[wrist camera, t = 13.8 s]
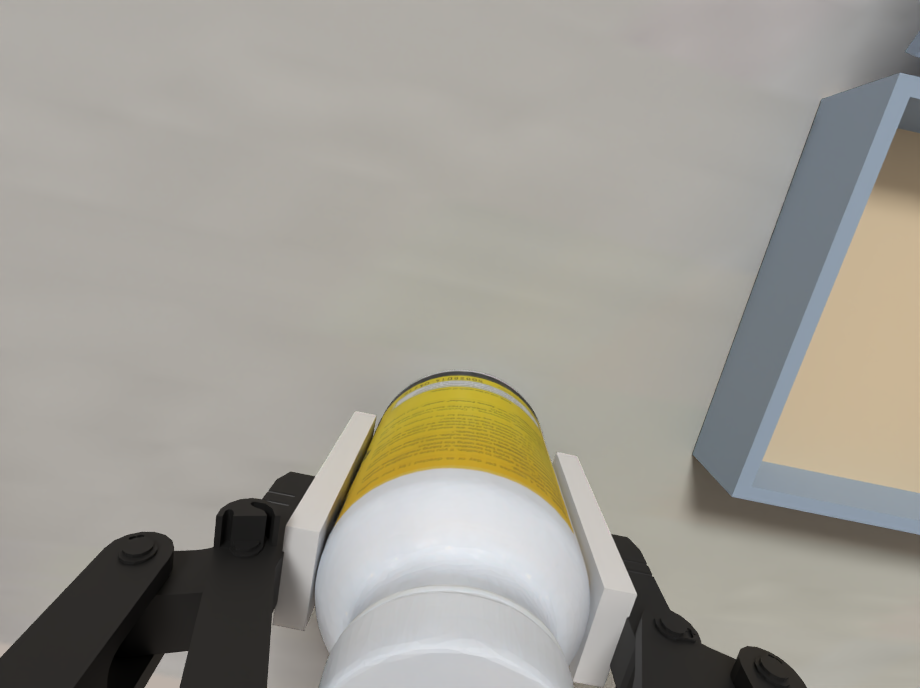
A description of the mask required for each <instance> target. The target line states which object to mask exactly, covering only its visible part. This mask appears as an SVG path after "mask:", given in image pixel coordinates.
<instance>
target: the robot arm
mask: <svg viewBox="0 0 920 688" xmlns="http://www.w3.org/2000/svg"><path fill="white" fill-rule="evenodd" d="M375 421H376V415H373V414H368V413H363V412H358V411H355V412H354V414H353V416H352V417H351V419H350V421H349V422H348V424H347V425H346V427H345V429H344V430H343V432H342V434H341V435H340V437H339V439H338V440H337V442H336V444H335V445H334V447H333V449H332V450H331V452H330V454H329V455H328V457H327V458H326V460H325V462H324V463H323V465H322V467H321V468H320V470H319V472H318V473H317V475H316V477H315V476H310V475H305V474H300V473H295V472H289V473H288V474H286V475H284V476H282V477H280V478H279V479H277V480H276V481H275V483H274V484H273V485H272V487H271V488H270V489H269V492H267V493H266V495H265V496H264V497H263V499H254V498H249V499H240V500H237V501H234V502H231V503H229V504H227V505H226V506H224V507H223V508H221V509H220V511H219V513H218V514H217V516H216V526H215V537H214V547H212V548H208V549H202V550H190V551H174V546H173V542H172V540H171V539H170V538H168V537H167V536H166V535H163V534H160V533H156V532H139V533H134V534H129V535H126V536H124V537H121V538H119V539H117V540H115V541H113V542H112V543H111V544H109V545H108V546H107V547H105V548H104V549H103V550H102V551H101V552H100V553H99V554H98V556H97V557H96V558H95V559H94V560H93V561H92V562H91V563H90V564H89V565H88V566H87V567H86V568H85V569H84V570H83V571H82V572H81V573H80V574H79V576H78V577H77V578H76V579H75V580H74V581H73V582H72V583H71V584H70V585H69V586H68V587H67V588H66V589H65V590H64V591H63V592H62V593H61V594H60V595H59V597H58V598H57V599H56V600H55V601H54V602H53V603H52V604H51V605H50V606H49V607H48V608H47V609H46V610H45V611H44V612H43V613H42V614H41V615H40V617H39V618H38V619H37V620H36V621H35V622H34V623H33V624H32V625H31V626H30V627H29V628H28V629H27V630H26V631H25V632H24V633H23V634H22V635H21V637H20V638H19V639H18V640H17V641H16V642H15V643H14V644H13V645H12V646H11V647H10V648H9V649H8V650H7V651H6V652H5V653H4V654H3V656H2V657H1V658H0V688H144V687H145V686H146V684H147V682H148V680H149V679H150V677H151V676H152V674H153V672H154V671H155V669H156V667H157V665H158V664H159V662H160V660H161V659H162V657H163V655H164V653H173V652H182V651H188V655H187V659H186V663H185V667H184V672H183V676H182V680H181V684H180V688H267V677H268V663H269V649H270V635H271V621H272V613H273V611H274V618H273V625H277V626H282V627H287V628H292V629H298V630H303V631H305V628H306V626H307V623H308V621H309V618H310V616H311V613H312V611H313V608H314V606H315V582H316V576H317V570H318V566H319V562H320V558H321V555H322V553H323V550H324V547H325V544H326V541H327V539H328V536H329V534H330V532H331V530H332V528H333V526H334V524H335V521H336V519H337V517H338V515H339V513H340V510H341V508H342V505H343V503H344V501H345V498H346V496H347V494H348V492H349V489H350V487H351V485H352V483H353V481H354V478H355V476H356V474H357V471H358V469H359V467H360V465H361V463H362V460H363V458H364V456H365V454H366V452H367V449H368V447H369V445H370V443H371V441H372V438H373V432H374V427H375ZM553 468H554V471H555V474H556V477H557V480H558V483H559V486H560V489H561V492H562V495H563V498H564V501H565V504H566V507H567V510H568V513H569V516H570V519H571V522H572V525H573V528H574V531H575V534H576V537H577V540H578V543H579V546H580V549H581V552H582V555H583V558H584V562H585V566H586V570H587V574H588V580H589V588H590V609H589V618H588V622H587V627H586V631H585V634H584V637H583V640H582V642H581V645H580V647H579V649H578V651H577V653H576V655H575V657H574V658H573V660H572V662H571V663H570V665H569V667H570V671H571V675H572V680H573V682H577V683H582V684H587V685H592V686H598V687H603V688H604V685H605V682H606V679H607V677H608V674H609V671H610V668H611V671H612V674H613V678H614V681H615V684H616V687H615V688H807V687H806V685H805V684H804V682H803V681H802V679H801V678H800V677H799V676H798V674H797V673H796V672H795V671H794V670H793V669H792V668H791V667H790V666H789V665H788V664H787V663H785V662H784V661H783V660H782V659H780V658H779V657H777V656H775V655H774V654H772V653H770V652H768V651H766V650H763V649H761V648H758V647H750V646H747V647H744V648H742V649H741V650H740V652H739V654H738V656H737V659H734V658H732V657H729V656H727V655H725V654H722V653H720V652H718V651H716V650H713V649H711V648H709V647H707V646H705V645H703V644H702V643H701V640H700V637H699V635H698V633H697V631H696V630H695V629H694V628H693V626H692V625H691V624H690V623H689V622H688V621H686V620H685V619H684V618H683V617H681V616H680V615H678V614H676V613H674V612H673V611H671V610H670V609H669V607H668V605H667V603H666V601H665V599H664V597H663V595H662V593H661V591H660V589H659V587H658V585H657V583H656V581H655V579H654V577H652V573H651V571H650V569H649V567H648V566H647V565H646V564H647V563H646V561H645V559H644V557H643V555H642V553H641V551H640V550H639V549H638V548H637V546H636V545H635V544H634V543H633V542H632V541H631V540H630V539H629V538H628V537H623V536H618V535H613V534H611V533H610V531H609V528H608V526H607V524H606V521H605V519H604V517H603V515H602V512H601V510H600V508H599V505H598V503H597V501H596V498H595V496H594V494H593V492H592V489H591V487H590V485H589V482H588V480H587V478H586V475H585V473H584V471H583V468H582V466H581V464H580V462H579V459H578V457H577V456H575V455H570V454H565V453H560V452H556V455H555V458H554V462H553ZM274 609H275V610H274Z"/></svg>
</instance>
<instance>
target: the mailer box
mask: <svg viewBox="0 0 920 688" xmlns="http://www.w3.org/2000/svg"><path fill="white" fill-rule="evenodd" d="M693 455H694V456H695V458H696V459H697V460H698V461H699V462H700V463H701V464H702V465H703V466H704V467H705V468H706V469H707V471H708V472H709V473H710V474H711V475H712V476H713V477H714V478H715V479H716V480H717V481H718V482H719V484H720V485H721V486H722V487H723V488H724V489H725V490H726V491H727V492H728V493H729V494H730V495H731V497H735V498H740V499H745V500H750V501H755V502H760V503H765V504H770V505H775V506H780V507H785V508H790V509H795V510H800V511H805V512H810V513H814V514H819V515H824V516H829V517H834V518H839V519H844V520H849V521H854V522H859V523H864V524H869V525H874V526H879V527H884V528H889V529H894V530H899V531H904V532H908V533H913V534H918V535H920V77H917V76H913V75H909V74H904V73H897V74H895V75H892V76H889V77H886V78H883V79H880V80H877V81H874V82H871V83H868V84H865V85H862V86H859V87H856V88H853V89H850V90H847V91H844V92H841V93H838V94H835V95H832V96H829V97H827V98H824V99H822V100H821V103H820V106H819V108H818V111H817V114H816V117H815V119H814V122H813V125H812V128H811V130H810V133H809V136H808V139H807V141H806V144H805V147H804V150H803V152H802V155H801V158H800V161H799V163H798V166H797V169H796V172H795V174H794V177H793V180H792V183H791V185H790V188H789V191H788V194H787V196H786V199H785V202H784V204H783V207H782V210H781V213H780V215H779V218H778V221H777V224H776V226H775V229H774V232H773V235H772V237H771V240H770V243H769V246H768V248H767V251H766V254H765V257H764V259H763V262H762V265H761V268H760V270H759V273H758V276H757V279H756V281H755V284H754V287H753V290H752V292H751V295H750V298H749V301H748V303H747V306H746V309H745V312H744V314H743V317H742V320H741V322H740V325H739V328H738V331H737V333H736V336H735V339H734V342H733V344H732V347H731V350H730V353H729V355H728V358H727V361H726V364H725V366H724V369H723V372H722V375H721V377H720V380H719V383H718V386H717V388H716V391H715V394H714V397H713V399H712V402H711V405H710V408H709V410H708V413H707V416H706V419H705V421H704V424H703V427H702V430H701V432H700V435H699V438H698V440H697V443H696V446H695V449H694V451H693Z"/></svg>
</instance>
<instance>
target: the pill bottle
mask: <svg viewBox="0 0 920 688" xmlns="http://www.w3.org/2000/svg"><path fill="white" fill-rule="evenodd" d="M315 608H316V616H317V621H318V625H319V629H320V633H321V636H322V638H323V641H324V643H325V646H326V648H327V650H328V652H329V657H328V660H327V662H326V665H325V668H324V671H323V674H322V678H321V681H320V685H319V688H574V685H573V680H572V675H571V672H570V669H569V667H568V666H569V665H570V663H571V662H572V660H573V658H574V657H575V655H576V653H577V651H578V649H579V647H580V645H581V642H582V640H583V637H584V634H585V631H586V627H587V622H588V618H589V609H590V588H589V580H588V574H587V570H586V566H585V562H584V558H583V555H582V552H581V549H580V546H579V543H578V540H577V537H576V534H575V531H574V528H573V525H572V522H571V519H570V516H569V513H568V510H567V507H566V504H565V501H564V498H563V495H562V492H561V489H560V486H559V483H558V480H557V477H556V474H555V471H554V468H553V465H552V462H551V459H550V456H549V453H548V449H547V446H546V443H545V439H544V436H543V432H542V429H541V426H540V423H539V421H538V419H537V417H536V415H535V413H534V411H533V409H532V408H531V407H530V405H529V404H528V402H527V401H526V400H525V399H524V398H523V397H522V396H521V394H519V393H518V392H517V391H516V390H515V389H514V388H512V387H511V386H510V385H508V384H507V383H505V382H503V381H502V380H500V379H498V378H496V377H493V376H491V375H488V374H485V373H481V372H476V371H470V370H449V371H442V372H438V373H434V374H431V375H428V376H426V377H423V378H421V379H419V380H417V381H415V382H414V383H412V384H410V385H409V386H408V387H406V388H405V389H404V390H403V391H402V392H400V393H399V394H398V395H397V396H396V398H395V399H394V400H393V401H392V402H391V404H390V405H389V406H388V408H387V410H386V411H385V413H384V415H383V417H382V418H381V420H380V422H379V424H378V427H377V429H376V431H375V434H374V436H373V439H372V441H371V443H370V445H369V447H368V449H367V452H366V454H365V456H364V458H363V460H362V463H361V465H360V467H359V469H358V471H357V474H356V476H355V478H354V481H353V483H352V485H351V487H350V489H349V492H348V494H347V496H346V498H345V501H344V503H343V505H342V508H341V510H340V513H339V515H338V517H337V519H336V521H335V524H334V526H333V528H332V530H331V532H330V534H329V536H328V539H327V541H326V544H325V547H324V550H323V553H322V555H321V558H320V562H319V566H318V570H317V576H316V582H315Z"/></svg>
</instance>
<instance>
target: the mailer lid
mask: <svg viewBox="0 0 920 688" xmlns="http://www.w3.org/2000/svg"><path fill="white" fill-rule="evenodd" d="M905 52H906V53H908V54H911V55H913V56H915V57H919V58H920V31H919V32H918V34H917V35H916V37H915V38H914V39H913V41H912V42H911V44H910V45H909V46H908V48H907V49H906V51H905Z"/></svg>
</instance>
